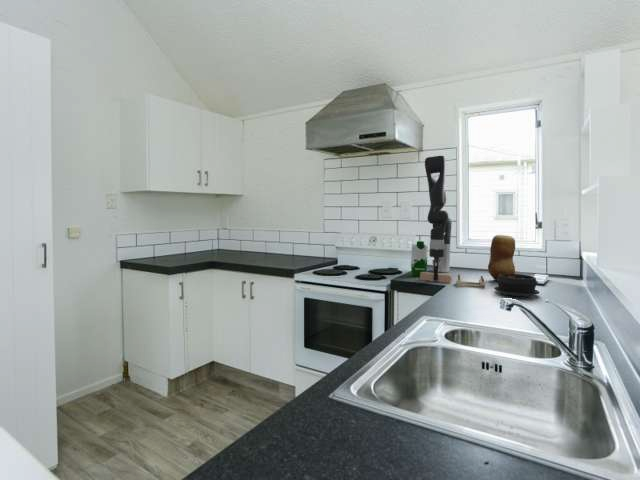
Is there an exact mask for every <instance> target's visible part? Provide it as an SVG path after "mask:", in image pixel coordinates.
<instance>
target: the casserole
mask: <svg viewBox="0 0 640 480" xmlns="http://www.w3.org/2000/svg"><path fill="white" fill-rule="evenodd" d="M496 280H497V281H498V282H497V281H496V282H497V283H498V284H497V285H498V286H494V291H497V292H500V293H501V294H503V295H506V296H510V297H520V298H523V297H525V298H527V297H534V296H536V295H539V294H540V291H539V290H537V289H536V287H537V285H538V283H539V282H538V281H537V278H536V276H533V275H528V274H527V275H526V274H521V273H520V274H519V273H515V274H500V275H499V277H498V278H497V279H496Z"/></svg>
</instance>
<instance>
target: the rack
mask: <svg viewBox="0 0 640 480" xmlns="http://www.w3.org/2000/svg"><path fill="white" fill-rule="evenodd" d="M456 287H461V288H462V287H463V288H464V287H465V288H475V289H476V288H478V289H485V288H486V281H485V278H484V276H483V275H480V278H479V280H478V281H477V282H476V281H466V280H465V281H463V280H462V277H461V274H458V275H457V277H456Z"/></svg>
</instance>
